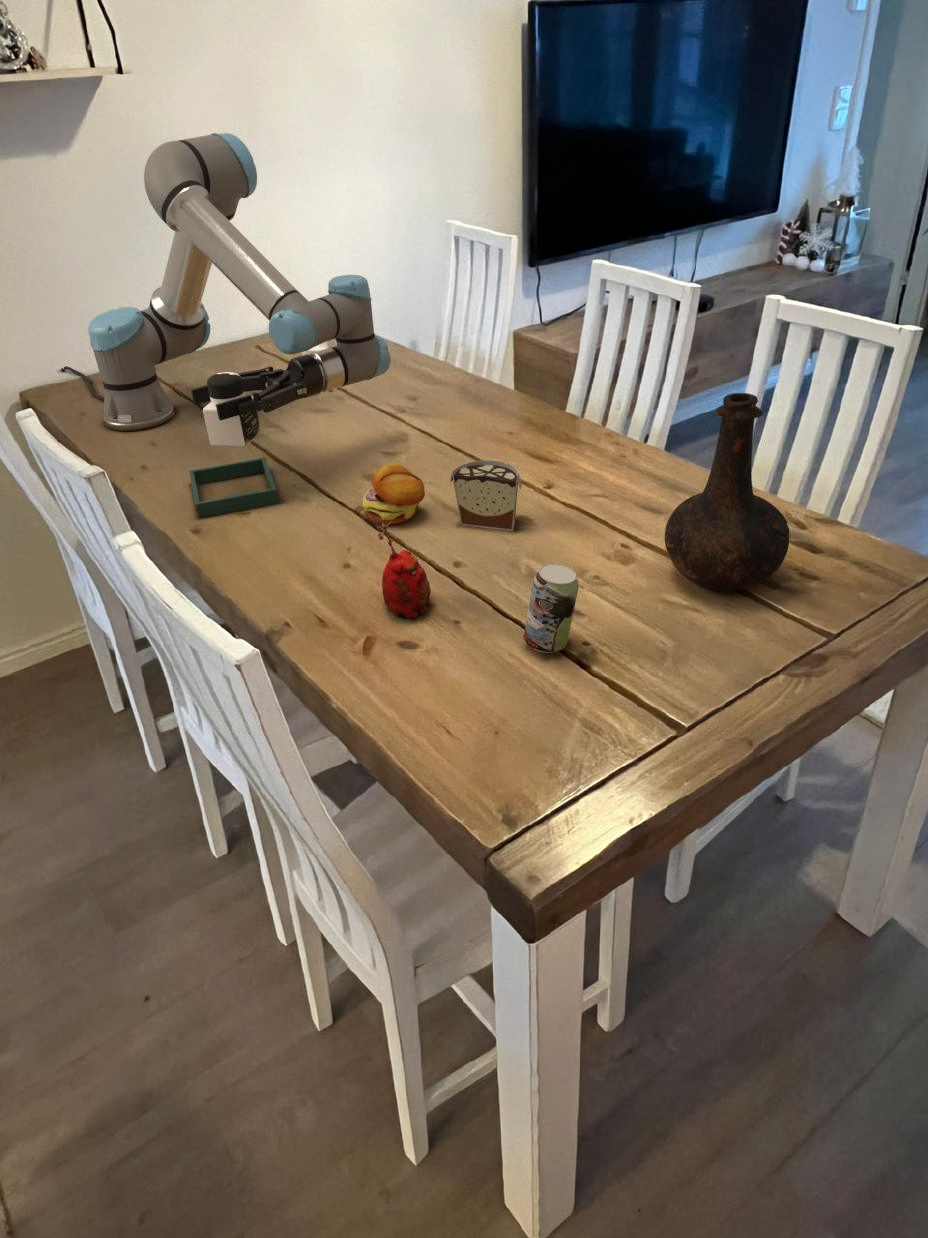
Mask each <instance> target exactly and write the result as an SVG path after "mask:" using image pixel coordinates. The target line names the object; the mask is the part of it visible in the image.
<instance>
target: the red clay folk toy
mask: <svg viewBox="0 0 928 1238" xmlns="http://www.w3.org/2000/svg"><path fill="white" fill-rule="evenodd" d="M378 521H380V522H381V523H380V524H381V525H382V526H381V527H380V526H379V527H378V526H377V527H376V530H377V529H378V530H381V529H382V530H383V531H382V532H378V534H377V537H378V540H380V541H383V539H384V535H386V537H387V544H388V546H389V547H390V549H391V554H390V555H389V558H388V561H387V562H386V564H385V567H384V569H383V571H382V577H381V587H382V597H383V602H384V605H385V606H386V607H387V609H388V610H389V611H390V612H391V613H392V614H393V615H394V616H396V617H398V618H403V617H404V618H405V619H409V620H410V619H415V618H416V617H418V616H419V615H422V614H423V613H426V612H427V606H429V605H430V603H431V599H430V596H431V592H432V591H431V587H430V586H431V585H430V584H431V583H430V581H429V579H428V576H427V574H426V571H425V569H424V567H423V566H422V565H421V564H420V562H419V559H418V557H417V556H416V555H413V554H412V552H411V551H409V550H406V549H403V550H402V551H400V552H399V553H398V552H396V550H395V548H394V546H393V542H394V539H391V538H390V535H389V532H388V530H387V529H388V527H389V526H390V525H392V524H391V523H392V522H390V523H389V524H383V522H382V521H381V520H380V519H378Z"/></svg>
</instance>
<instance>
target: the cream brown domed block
mask: <svg viewBox="0 0 928 1238" xmlns="http://www.w3.org/2000/svg"><path fill="white" fill-rule="evenodd" d="M449 483H453V488H454V493H455V499H456V500H455V501H456V506H457V511H458V516H459V523H460V526H465V527H472V528H473V527H474V528H480V529H482V528H483V529H489V530H490V529H491V530H497V531H498V530H499V531H507V532H514V529H515V525H516V512H517V502H518V491H519V490H521V489H522V487H523V483H522V478H521V475H520V472H519V470H518V469H517V468H516V467H515V466H514V465H512V464H511V463H508V462H504V461H501V460H492V459H490V460H488V459H485V460H484V459H483V460H475V461H469V462H466V463H463V464H460V465H459V466H457V467H455V468H454V469H453V470H452V471H451V474H450V479H449ZM518 489H519V490H518Z"/></svg>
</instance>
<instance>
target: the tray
mask: <svg viewBox="0 0 928 1238" xmlns="http://www.w3.org/2000/svg"><path fill="white" fill-rule="evenodd" d="M257 474H264V477H265V479H266V482H267V485H268V489H262V490H261V489H260V490H257V491H251V492H246V493H240V494H235V495H229V496H224V497H219V498H213V499H208V500H203V501H201V499H200V493H199V488H198V485H203V484H207V483H208V484H209V483H214V482H219V481H225V480H230V479H235V478H240V477H241V478H242V477H247V476H252V475H257ZM189 477H190V483H191V487H192V493H193V499H194V506H195V509H196V512H197V517H198V519H201V518H208V517H213V516H217V515H223V514H228V513H234V512H239V511H244V510H249V509H254V508H260V507H265V506H270V505H275V504H276V505H277V504H279V503H280V501H279V495H278V490H277V486H276V484H275V482H274V478H273V476H272V473H271V470H270V467H269V465H268V461H267V459H266V457H259V458H254V459H253V458H252V459H248V460H247V459H246V460H243V461H242V460H241V461H236V462H231V463H225V464H220V465H214V466H208V467H202V468H197V469H191V470H189Z"/></svg>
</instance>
